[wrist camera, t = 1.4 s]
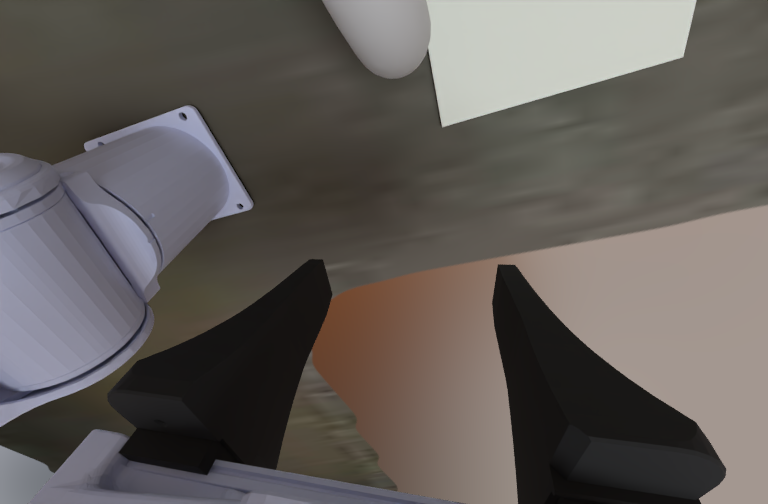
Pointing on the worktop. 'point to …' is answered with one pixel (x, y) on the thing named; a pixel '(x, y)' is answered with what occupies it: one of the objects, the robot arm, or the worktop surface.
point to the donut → (384, 33)
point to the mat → (544, 47)
